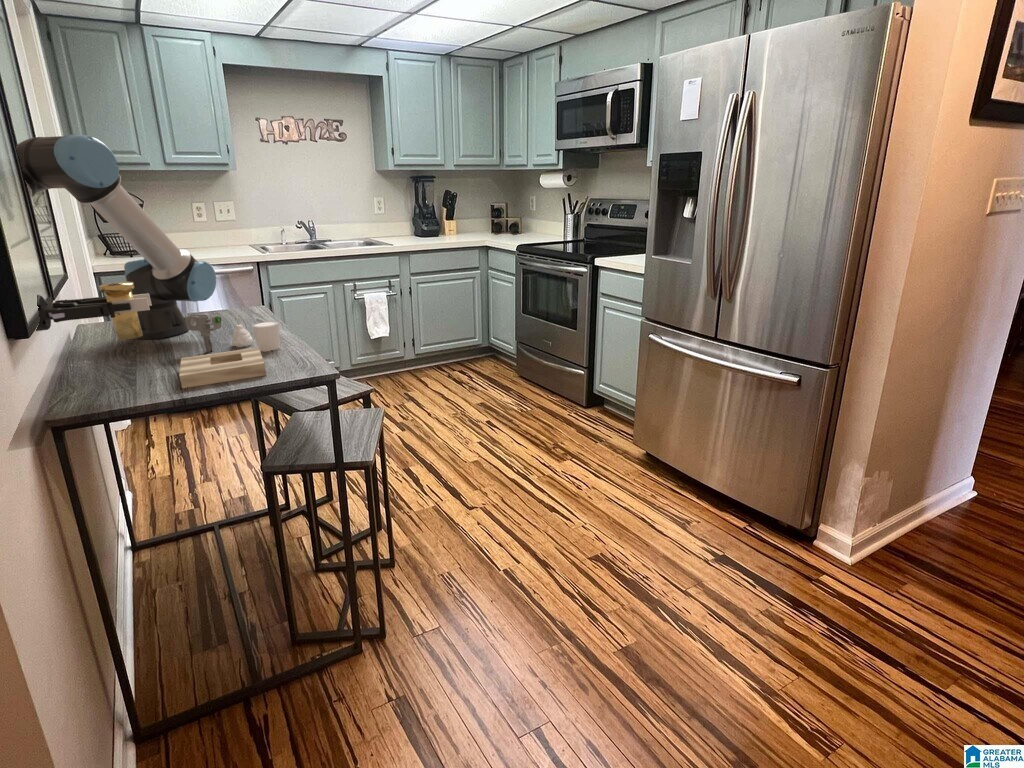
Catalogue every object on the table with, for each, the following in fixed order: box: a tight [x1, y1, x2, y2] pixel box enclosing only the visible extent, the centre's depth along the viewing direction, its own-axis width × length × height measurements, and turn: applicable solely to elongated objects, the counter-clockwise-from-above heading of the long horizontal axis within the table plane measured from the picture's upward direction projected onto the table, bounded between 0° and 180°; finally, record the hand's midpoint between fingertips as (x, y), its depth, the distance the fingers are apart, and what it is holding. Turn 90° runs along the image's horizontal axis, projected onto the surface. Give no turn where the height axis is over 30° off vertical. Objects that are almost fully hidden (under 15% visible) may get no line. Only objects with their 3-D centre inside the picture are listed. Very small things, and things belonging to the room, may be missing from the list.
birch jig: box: [178, 346, 267, 389], centre depth 145 cm, size 16×18×3 cm
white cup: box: [251, 321, 281, 352], centre depth 164 cm, size 7×7×7 cm
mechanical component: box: [184, 314, 222, 353], centre depth 162 cm, size 3×10×10 cm, turn 79°
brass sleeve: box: [98, 281, 143, 341], centre depth 133 cm, size 6×6×12 cm
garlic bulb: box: [231, 324, 253, 348], centre depth 169 cm, size 6×6×5 cm
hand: (149, 301), depth 135 cm, fingers closed on brass sleeve, 5 cm apart
